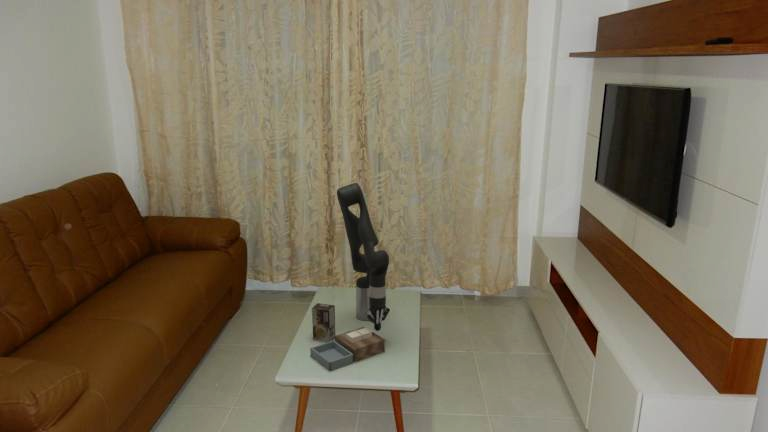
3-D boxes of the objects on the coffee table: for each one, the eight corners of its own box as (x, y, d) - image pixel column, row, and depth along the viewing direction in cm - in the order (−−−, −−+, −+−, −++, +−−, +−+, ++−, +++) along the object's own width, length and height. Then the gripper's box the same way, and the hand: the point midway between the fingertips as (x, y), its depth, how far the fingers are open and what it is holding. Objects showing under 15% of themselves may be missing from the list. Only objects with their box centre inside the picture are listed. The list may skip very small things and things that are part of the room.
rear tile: (365, 332, 256) (365, 327, 255) (372, 336, 252) (372, 331, 251) (356, 335, 253) (356, 330, 252) (362, 339, 249) (362, 334, 248)
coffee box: (336, 337, 265) (335, 305, 261) (330, 343, 259) (329, 310, 255) (318, 334, 268) (317, 302, 264) (312, 340, 262) (311, 307, 258)
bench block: (364, 338, 263) (364, 326, 262) (384, 351, 251) (384, 339, 249) (334, 348, 254) (334, 335, 252) (354, 362, 242) (354, 349, 240)
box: (334, 348, 254) (333, 340, 253) (353, 362, 241) (353, 354, 240) (310, 356, 247) (310, 347, 246) (329, 371, 234) (329, 362, 233)
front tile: (355, 335, 253) (355, 330, 252) (361, 340, 249) (361, 334, 248) (346, 338, 250) (346, 333, 249) (352, 343, 246) (352, 337, 245)
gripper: (384, 288, 259) (384, 323, 263) (360, 295, 251) (360, 331, 256) (394, 293, 253) (394, 329, 257) (370, 300, 245) (370, 337, 250)
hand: (377, 330), depth 256 cm, fingers closed
